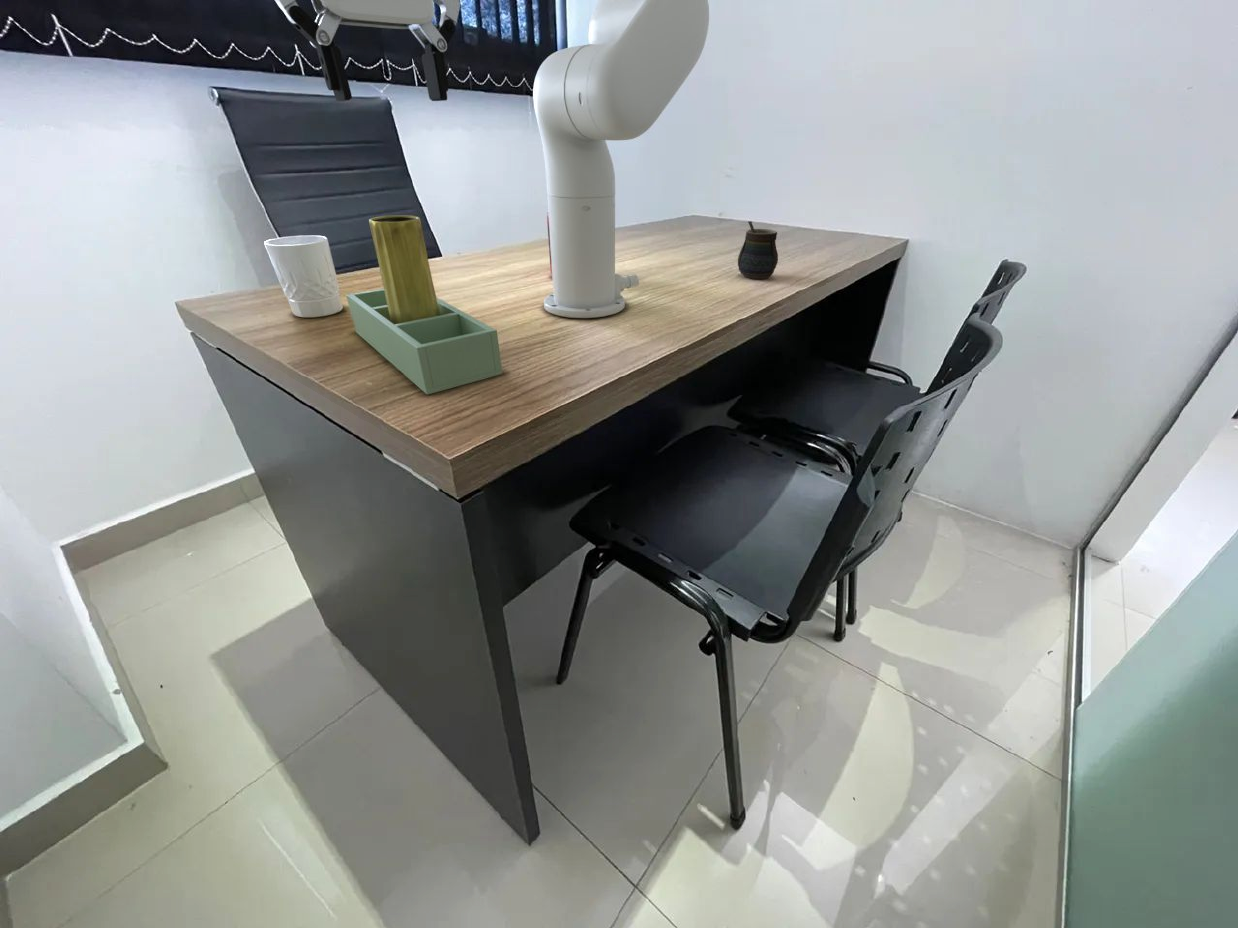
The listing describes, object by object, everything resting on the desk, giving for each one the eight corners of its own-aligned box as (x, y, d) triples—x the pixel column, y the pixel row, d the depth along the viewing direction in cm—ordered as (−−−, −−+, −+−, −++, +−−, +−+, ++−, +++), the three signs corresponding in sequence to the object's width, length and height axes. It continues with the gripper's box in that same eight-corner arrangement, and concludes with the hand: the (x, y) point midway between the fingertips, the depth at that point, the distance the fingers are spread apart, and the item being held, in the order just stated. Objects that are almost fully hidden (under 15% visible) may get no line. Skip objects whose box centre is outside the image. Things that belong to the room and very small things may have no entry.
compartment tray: (420, 320, 74) (412, 284, 71) (502, 374, 58) (497, 330, 55) (356, 332, 69) (345, 294, 67) (427, 395, 53) (416, 348, 51)
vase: (447, 351, 62) (423, 221, 54) (393, 356, 60) (360, 223, 52) (446, 335, 66) (424, 213, 59) (396, 339, 65) (367, 215, 57)
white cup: (324, 321, 73) (300, 246, 68) (276, 317, 75) (249, 244, 69) (358, 305, 80) (339, 236, 74) (313, 302, 81) (292, 234, 76)
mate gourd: (782, 276, 97) (792, 218, 92) (762, 284, 93) (772, 223, 87) (748, 270, 101) (756, 215, 96) (728, 277, 96) (735, 219, 91)
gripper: (224, -203, 36) (311, 99, 45) (456, -141, 45) (487, 100, 54) (210, -164, 40) (291, 101, 50) (422, -115, 49) (456, 102, 59)
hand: (393, 100), depth 52 cm, fingers open, 9 cm apart
